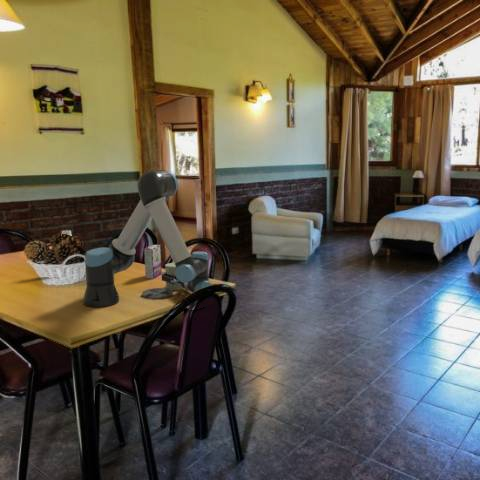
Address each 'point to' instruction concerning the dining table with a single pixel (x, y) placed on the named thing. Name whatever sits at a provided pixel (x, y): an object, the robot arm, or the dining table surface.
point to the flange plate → (157, 293)
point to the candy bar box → (152, 261)
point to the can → (171, 271)
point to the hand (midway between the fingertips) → (171, 272)
